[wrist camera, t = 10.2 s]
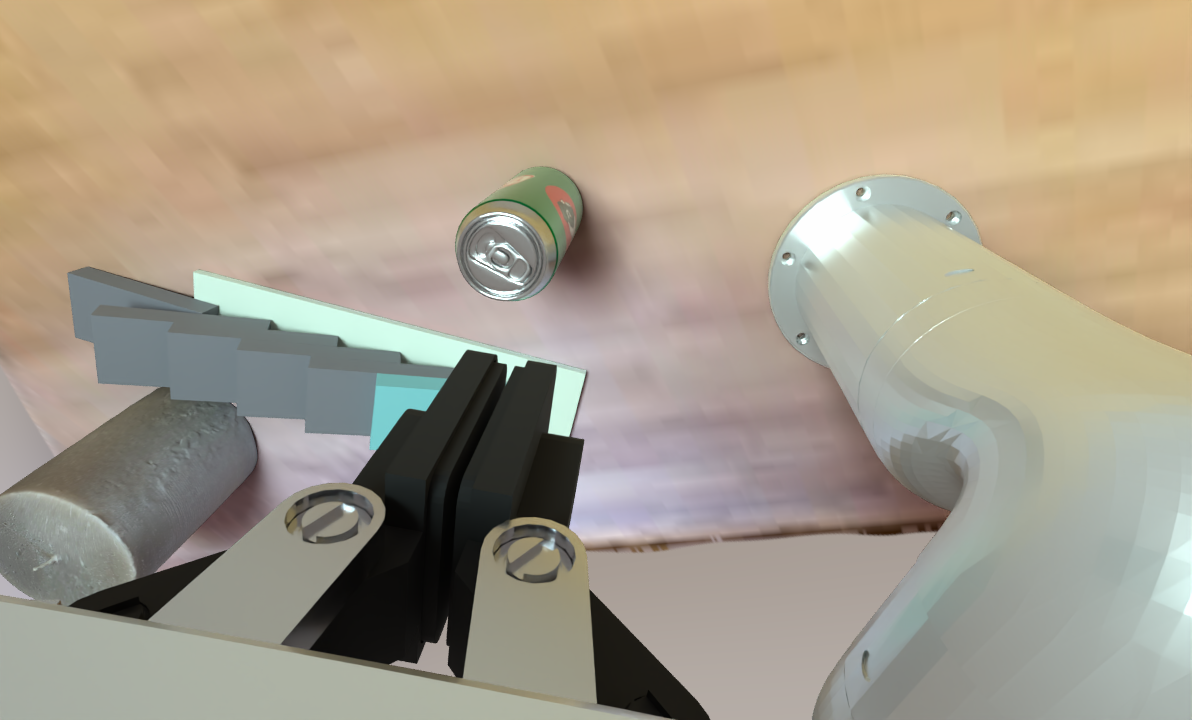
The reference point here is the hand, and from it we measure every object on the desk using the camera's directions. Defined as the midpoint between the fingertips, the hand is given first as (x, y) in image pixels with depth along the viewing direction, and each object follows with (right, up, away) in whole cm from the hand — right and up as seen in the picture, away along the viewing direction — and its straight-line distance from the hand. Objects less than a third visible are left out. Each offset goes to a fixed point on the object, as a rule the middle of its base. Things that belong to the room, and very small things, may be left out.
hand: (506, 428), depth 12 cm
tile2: (-8, -2, +34) cm, 35 cm away
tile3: (-13, -1, +34) cm, 36 cm away
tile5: (-22, +1, +34) cm, 40 cm away
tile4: (-17, 0, +34) cm, 38 cm away
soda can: (-2, +11, +29) cm, 31 cm away
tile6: (-26, +3, +34) cm, 42 cm away
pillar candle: (-30, -5, +40) cm, 50 cm away
